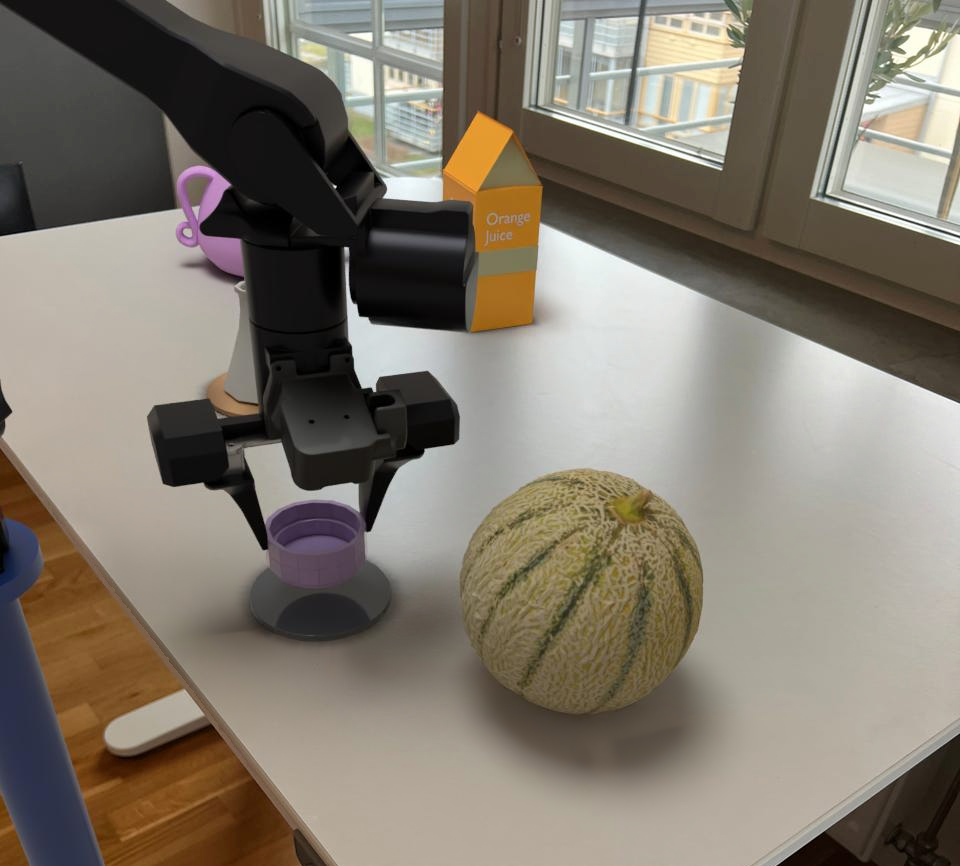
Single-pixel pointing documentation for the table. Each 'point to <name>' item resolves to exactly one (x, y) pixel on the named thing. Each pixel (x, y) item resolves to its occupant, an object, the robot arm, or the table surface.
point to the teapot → (215, 248)
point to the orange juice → (498, 220)
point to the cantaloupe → (581, 591)
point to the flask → (242, 357)
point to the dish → (316, 543)
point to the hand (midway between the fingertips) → (315, 538)
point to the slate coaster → (321, 605)
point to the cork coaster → (228, 400)
